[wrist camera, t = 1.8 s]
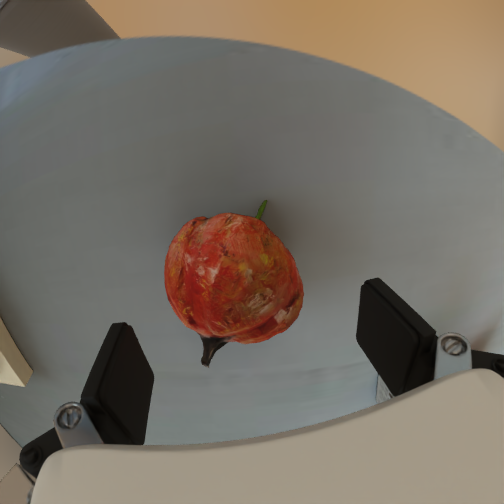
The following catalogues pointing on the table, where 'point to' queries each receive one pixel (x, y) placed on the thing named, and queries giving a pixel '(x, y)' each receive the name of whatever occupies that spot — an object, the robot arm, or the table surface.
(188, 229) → the pomegranate
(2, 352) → the scale
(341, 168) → the table surface
